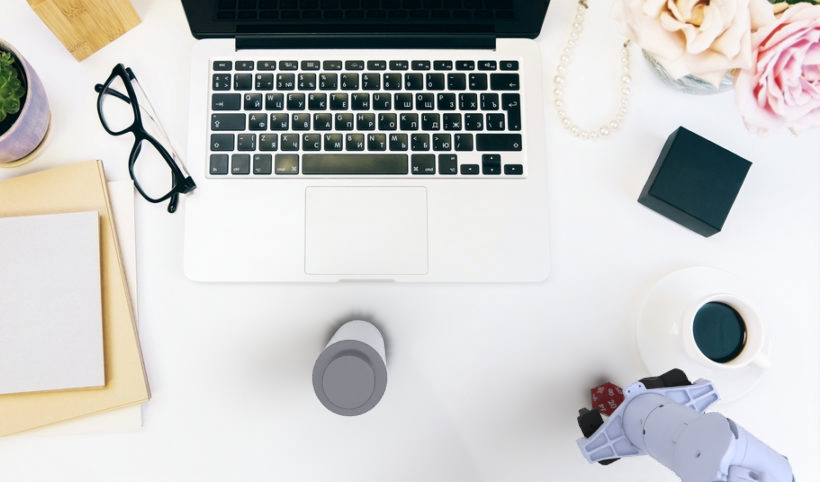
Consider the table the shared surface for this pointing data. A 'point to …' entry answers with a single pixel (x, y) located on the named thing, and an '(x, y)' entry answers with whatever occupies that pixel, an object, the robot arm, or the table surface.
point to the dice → (607, 398)
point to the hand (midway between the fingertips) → (614, 402)
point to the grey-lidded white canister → (351, 370)
